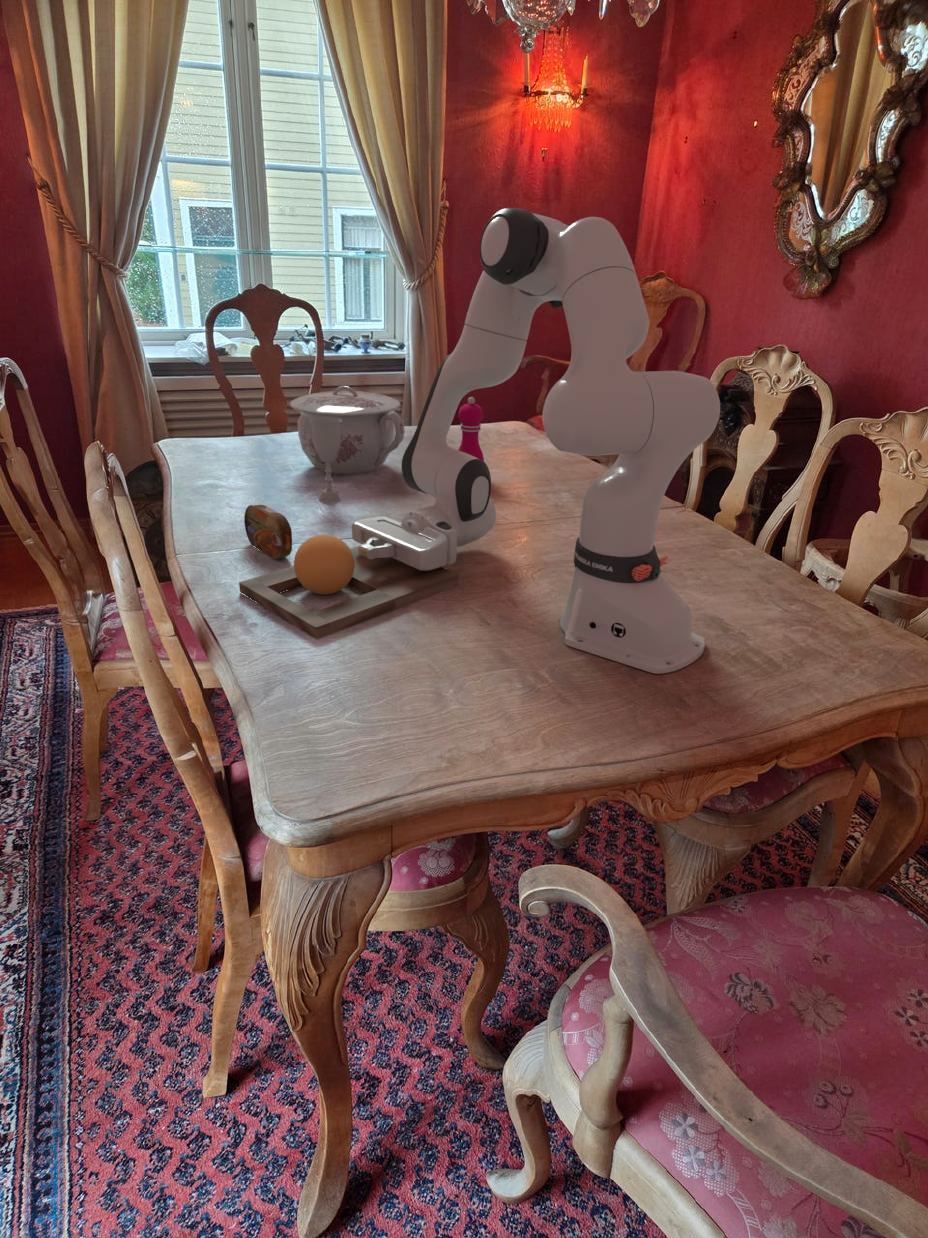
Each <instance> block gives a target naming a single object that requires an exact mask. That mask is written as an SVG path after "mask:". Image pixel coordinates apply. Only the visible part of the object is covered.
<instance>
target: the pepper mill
mask: <svg viewBox="0 0 928 1238" xmlns="http://www.w3.org/2000/svg"><path fill="white" fill-rule="evenodd" d="M458 419H459V420H460V422H461V423H460V428H459V429H460V430H461V442H460V446H459V448H458V449H457V450H459V451H461V452H464V453H467V454H469V455H471V456H474V457H476V458H478V459H480V460H482V461H484V462H485V458H484V454H483V451H482V449H481V445H480V442H479V434H480V433H479V432H481V426H482V424H481V422H482V420H483V419H484V411H483V408H482V406H480V405H479V404H476V399H475V397H473V396H470V397H468V399H467V403H465V404H462V405H461V406H460V408H459V411H458Z"/></svg>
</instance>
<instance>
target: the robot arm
mask: <svg viewBox="0 0 928 1238" xmlns="http://www.w3.org/2000/svg"><path fill="white" fill-rule="evenodd" d="M479 241H480V242H479V260H480V265H481V268H482V273H481V274H480V277H479V279H478V282H477V284H476V286H475V289H474V291H473V294H472V297H471V300H470V303H469V307H468V310H467V312H466V316H465V320H464V325H463V329H462V332H461V334H460V337H459V340H458V342H457V343H456V346H455V348H454V350H453V351H452V352H451V353H450V354H448V355H447V356H445V358H444V359H443V360H442V362H441V364H440V365H439V366H438V367H439V368H438V370H437V371H436V375H435V376H434V379H433V382H432V384H431V387H430V389H429V392H428V396H427V399H426V401H425V404H424V407H423V409H422V412H421V416H420V418H419V420H418V422H417V423H418V424H417V427H416V429H415V431H414V434H413V436H412V439H410V442H409V443H408V445H407V447H406V449H405V450H404V453H403V455H402V458H401V473H402V477H403V479H404V482H405V483H406V485H407V486H408V487H409V488H410V489H412V490H415V491H418V492H420V493H421V492H422V493H424V494H426V495H427V494H428V495H430V496H431V497H433V498H435V503H434V504H433V505H430V506H427V507H426V506H425V507H423V508H419V509H416V510H412V511H410V512H408V513H406V514H405V515H404V517H403V518H402V521H401V520H398V519H395V518H392V517H390V516H388V515H374V516H368V517H366V518H360V519H357V520H354V521H353V522H352V523H351V536H352V537H351V538H352V540H353V541H354V542H356V543H359V547H358V546H357V547H358V553H359V555H361V556H364V557H366V558H368V559H370V560H371V559H374V558H389V557H392V558H394V559H396V560H398V561H401V562H403V563H405V564H407V565H409V566H412V567H414V568H416V569H418V570H422V571H429V570H433V569H436V568H439V567H442V568H443V567H444V566H446V565H453V564H455V563H457V562H456V561H457V555H458V553H457V552H458V548H459V547H462V546H465V545H468V544H471V543H473V542H475V541H477V540H480V539H481V538H483V537H484V536H486V535H487V534H488V533H489V532H490V531H491V530H492V529H493V528H494V526H495V524H496V519H497V512H496V511H497V509H496V506H495V505H494V504H495V503H494V502H493V500H492V499H491V494H492V493H491V490H492V478H491V472H490V468H489V466H488V465H487V463H486V462H485V460H484V461H482V460H480V459H478V458H476V457H474V456H471V455H469V454H467V453H464V452H461V451H459V450H458V449H457V448H454V447H451V446H449V445H448V442H447V436H448V433H449V431H450V428H451V425H452V423H453V420H454V417H455V416H456V412H457V409H458V407H459V405H460V402H461V400H462V399H463V398H464V397H465V396H466V395H467V394H468V393H470V392H472V391H474V390H478V389H484V388H485V389H486V388H491V387H494V386H497V385H500V384H503V383H504V382H506V381H507V380H509V379H510V378H512V377H513V376H514V375H515V374H516V373H517V371H518V369H519V367H520V365H521V363H522V361H523V358H524V354H525V351H526V350H525V349H526V347H527V340H528V338H529V334H530V330H531V325H532V321H533V317H534V314H535V312H536V311H537V309H538V308H539V307H540V306H541V305H543V304H545V303H547V302H548V303H549V305H550V306H551V308H553V309H558V308H562V307H563V311H564V315H565V320H566V324H567V329H568V335H569V339H570V347H571V354H570V355H571V357H570V361H569V364H568V367H567V370H566V371H565V373H564V374H563V376H562V377H561V378H560V379H559V380H558V381H556V382H555V383H554V385H553V386H552V387H551V388H550V391H549V392H548V394H547V396H546V398H545V399H544V400H545V401H544V404H543V408H542V424H543V428H544V431H545V434H546V436H547V439H548V440H549V441H550V443H551V444H552V446H554V448H555V449H557V450H558V451H560V452H563V453H570V454H576V455H581V456H582V455H583V456H590V457H592V456H594V457H595V456H609V455H612V456H613V455H618V457H617V459H616V460H615V462H614V463H613V465H612V466H611V467H610V468H609V469H608V470H607V471H606V472H604V474H602V475H600V476H599V477H597V478H595V479H594V480H593V481H591V483H590V484H588V487H587V489H586V490H585V492H584V495H583V499H582V505H581V506H582V509H581V516H580V525H579V527H580V528H579V537H577V539H576V540H575V547H574V555H573V565H574V573H573V579H572V583H571V588H570V591H569V596H568V599H567V603H566V605H565V607H564V610H563V613H562V615H561V617H560V619H559V625H560V628H561V629H562V632H563V633H564V634H565V637H564V643H565V645H566V646H568V647H571V648H574V649H577V650H581V651H583V652H587V653H589V654H592V655H596V656H598V657H602V658H605V659H607V660H611V661H614V662H617V663H620V664H623V665H626V666H629V667H632V668H636V669H639V670H642V671H645V672H647V673H652V674H658V675H659V674H666V673H672V672H676V671H678V670H681V669H683V668H686V667H687V666H689V665H690V664H692V663H694V662H695V661H696V660H698V659H699V658H700V657H701V656H702V654H703V653H704V651H705V646H706V645H705V643H706V642H705V641H706V640H705V638H704V637H703V636H700V635H698V634H697V633H695V632H693V630H692V629H693V618H692V617H693V616H692V610H691V608H690V606H689V605H688V604H687V602H686V601H685V600H684V599H683V598H682V596H680V595H679V594H678V593H677V591H676V590H675V589H674V588H673V587H672V585H671V584H670V583H669V582H668V581H667V580H666V578H665V577H664V576H663V575H662V574H661V573H662V569H661V567H662V566H664V565H666V564H667V563H668V561H667V559H669V556H668V555H666V556H664V557H662V558H659V557H658V552H657V549H656V546H655V545H654V543H655V540H656V539H655V536H656V534H657V533H656V532H657V528H658V527H657V526H658V522H659V521H658V520H659V516H660V512H661V507H662V504H663V500H664V497H665V494H666V491H667V489H668V487H669V485H670V483H671V481H672V480H673V478H674V476H675V475H676V472H677V471H678V470H679V468H680V467H681V465H683V463H684V462H685V460H686V459H687V458H688V456H690V454H691V453H692V452H693V451H694V450H696V449H697V448H699V446H700V445H702V444H704V443H705V442H706V441H707V440H708V439H709V438H710V437H711V436H712V434H713V433H714V431H715V429H716V428H717V425H718V422H719V420H720V415H721V414H720V413H721V402H720V401H721V400H720V397H719V393H718V391H717V388H716V386H715V385H714V383H713V382H712V381H711V380H710V379H709V378H707V377H706V376H702V375H698V374H695V373H694V374H693V373H690V372H685V371H679V370H659V371H657V370H654V371H651V370H650V371H649V370H648V371H636V370H635V371H634V370H631V369H630V367H629V365H628V363H627V360H628V358H630V357H631V356H632V355H634V354H635V353H636V352H638V350H639V349H640V348H641V347H642V346H643V344H644V343H645V342H646V339H647V337H648V333H649V330H650V318H649V314H648V311H647V307H646V304H645V301H644V297H643V294H642V290H641V286H640V282H639V279H638V276H637V272H636V270H635V266H634V264H633V260H632V258H631V255H630V252H629V250H628V249H627V246H626V244H625V242H624V240H623V238H622V236H621V234H620V232H619V231H618V230H617V228H616V227H615V225H614V224H613V223H612V222H610V221H609V220H607V219H605V218H604V217H598V216H589V217H587V216H586V217H584V218H581V219H578V220H577V221H575V222H573V223H571V224H570V225H568V224H565V223H563V222H562V221H561V220H559V219H556V218H552V217H549V216H546V215H542V214H538V213H534V212H533V213H532V212H531V211H529V210H528V209H524V208H517V207H516V208H515V207H507V208H502V209H499V210H497V211H496V213H495V214H493V215H492V216H491V218H490V219H489V220H488V221H487V223H486V225H485V227H484V229H483V231H482V233H481V236H480V240H479Z"/></svg>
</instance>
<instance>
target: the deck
mask: <svg viewBox="0 0 928 1238" xmlns="http://www.w3.org/2000/svg"><path fill="white" fill-rule="evenodd" d="M359 546H360V545H359ZM359 546H355V547H352V548H350V550H351V552H352V554H353V557H354V563H355V566H354V573H353V576H352V578H351V580H350V581H349V583H348V584H347V585H346V586H349V587H351V588H353V589H355V590H357V591H358V592H360V593H363V594H362V595H361V594H360V595H359V596H356V597H352V598H350V599H347V600H345V601H342V602H338V603H336V604H333V605H330V606H328V607H325V608H322V609H319V610H316V611H314V612H312V611H310V610H308V609H307V608H305V607H303V606H301V605H300V604H299V603H296V602H294V601H293V600H291V599H289V598H288V597H285V596H284V595H282V593H280V592H283V591H286V590H289V591H293V590H295V588H296V589H298V588H297V587H299V588H302V587H304V586H303V585H302V584H301V583H300V581H299V580H298V578H297V576H296V574H295V570H294V565H292V566H289V567H285V568H281V569H278V570H275V571H272V572H269V573H266V574H262V575H260V576H259V575H258V576H255V577H252V578H248V579H246V580H243V581H239V582H238V584H239V585H238V586H239V593H240V592H241V593H243V594H245V595H246V596H248V597H249V598H251V599H252V600H254V601H256V602H257V603H258V604H257V603H256V602H255V603H256V604H257V605H259V604H260V605H259V606H261V607H262V606H263V608H264V609H266V610H267V611H269V612H271V613H272V614H274V615H276V616H277V617H279V618H280V619H282V620H284V621H285V620H286V622H288V623H289V624H291V625H292V626H294V627H296V628H297V629H299V630H301V631H302V632H304V633H305V634H307V635H309V636H310V637H312V638H314V639H315V640H320V639H321V638H325V637H326V636H329V635H330V636H331V635H332V634H334V633H338V632H339V631H342V630H343V631H344V629H348V628H351V627H353V626H356V625H359V624H361V623H363V622H366V621H368V620H371V619H373V618H374V619H375V618H376V617H379V616H381V615H384V614H387V613H390V612H392V611H395V610H398V609H400V608H403V607H405V606H407V605H410V604H413V603H415V602H417V601H421V600H424V599H426V598H428V597H429V598H430V597H431V596H434V595H437V594H440V593H441V592H444V591H447V590H449V589H452V588H455V587H457V586H459V584H460V574H459V573H456V572H454V571H451V570H450V569H447V568H444V567H443V566H442V567H439V568H436V569H433V570H429V571H422V570H418V569H416V568H414V567H412V566H409V565H407V564H405V563H403V562H401V561H398V560H396V559H394V558H392V557H389V558H374V559H371V560H370V559H368V558H366V557H364V556H361V555H359V553H358V547H359ZM301 586H302V587H301ZM286 592H287V591H286ZM241 593H240V594H241ZM279 593H280V594H279ZM283 593H284V592H283ZM246 596H245V597H246ZM249 598H248V599H249ZM251 599H250V600H251ZM252 600H251V601H252ZM254 601H253V602H254Z"/></svg>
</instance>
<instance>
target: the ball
mask: <svg viewBox="0 0 928 1238" xmlns="http://www.w3.org/2000/svg"><path fill="white" fill-rule="evenodd" d="M350 549H351V548H350V547H349V545H348V544H347V543H346V542H345V541H344V540H342V539H341V538H339V537H337V536H334V535H330V534H316V535H313V536H311V537H309V538H307V539H306V540H304V542H302V543H301V544H300V546H299V547H298V548H297V550H296V552H295V556H294V559H293V566H294V570H295V574H296V576H297V578H298V580H299V581H300V583H301V584H302V585H303V586H302V587H304V589H306V590H308V591H310V592H312V593H314V594H318V595H331V594H334V593H338V592H340V591H341V590H343V589H344V588H345V587H347V586H348V585H347V584H348V583H349V581H350V580H351V578H352V576H353V573H354V566H355V563H354V557H353V554H352V552H351V550H350Z"/></svg>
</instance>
